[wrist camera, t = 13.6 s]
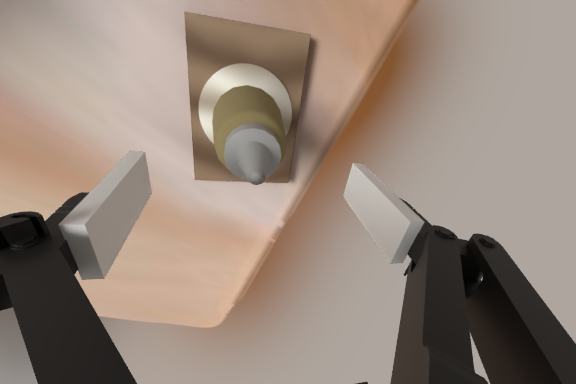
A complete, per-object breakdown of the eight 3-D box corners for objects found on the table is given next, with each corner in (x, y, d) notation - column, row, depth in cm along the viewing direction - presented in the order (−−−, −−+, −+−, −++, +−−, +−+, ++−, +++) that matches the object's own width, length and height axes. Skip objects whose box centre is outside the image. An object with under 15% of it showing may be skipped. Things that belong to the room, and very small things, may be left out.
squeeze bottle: (227, 68, 28) (216, 92, 13) (287, 98, 31) (335, 146, 16) (206, 131, 32) (178, 207, 16) (262, 153, 35) (284, 235, 19)
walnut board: (186, 13, 27) (183, 11, 25) (307, 34, 30) (311, 34, 28) (196, 175, 36) (194, 181, 35) (286, 178, 40) (288, 184, 38)
